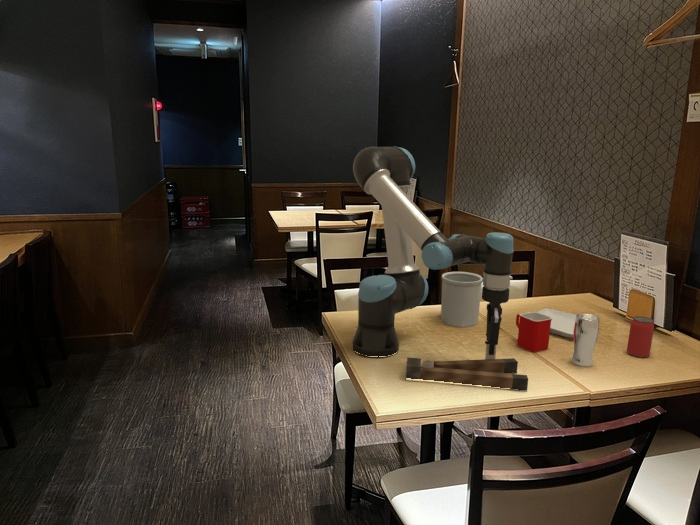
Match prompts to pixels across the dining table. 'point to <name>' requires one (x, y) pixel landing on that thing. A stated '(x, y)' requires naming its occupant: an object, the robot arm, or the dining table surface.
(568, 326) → the salad plate
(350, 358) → the dining table surface
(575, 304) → the dining table surface
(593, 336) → the beer glass
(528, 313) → the mug
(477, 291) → the utensil holder
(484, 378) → the base
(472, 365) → the bar
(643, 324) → the beer can
